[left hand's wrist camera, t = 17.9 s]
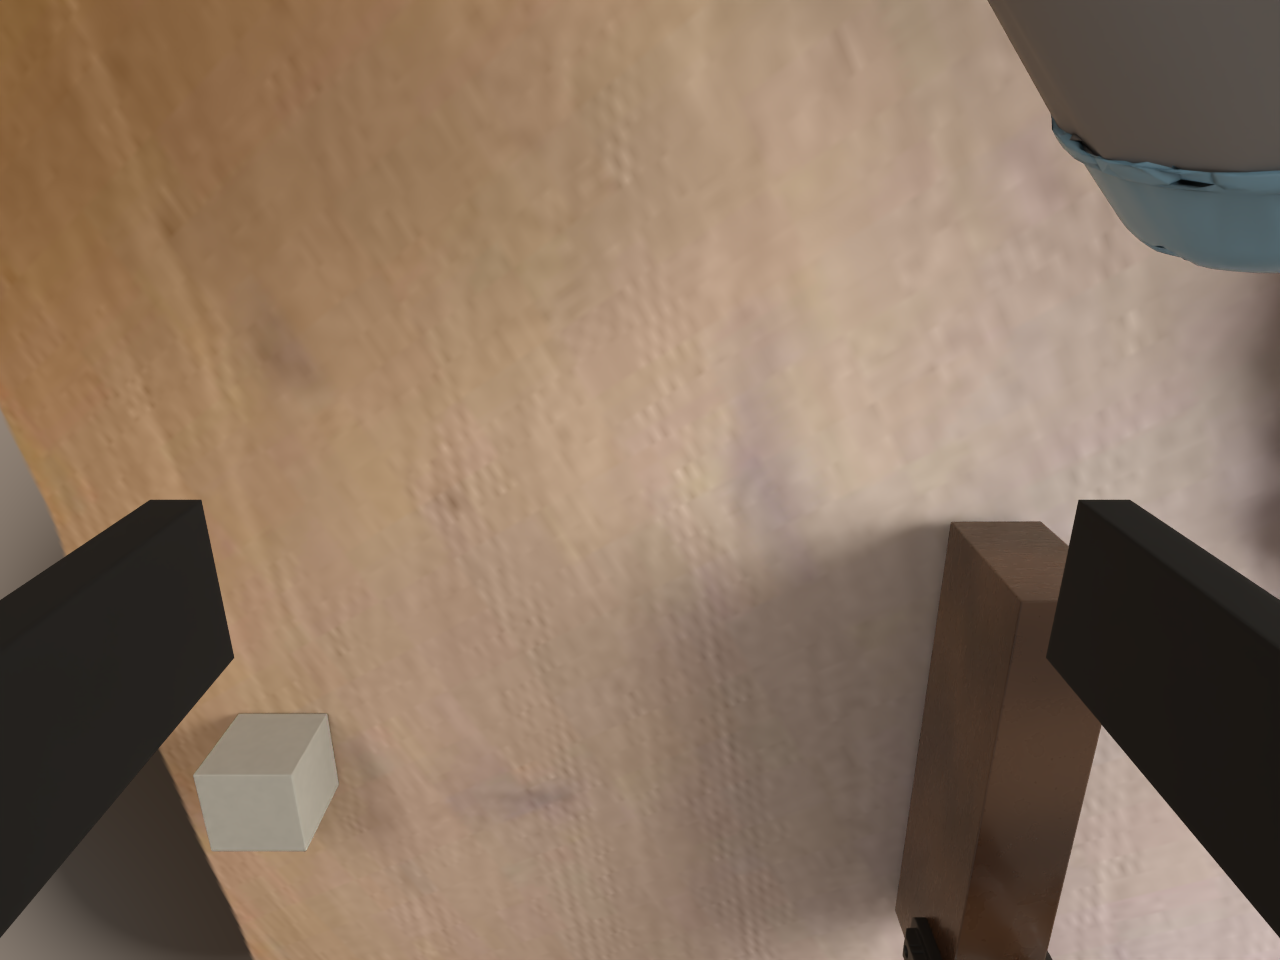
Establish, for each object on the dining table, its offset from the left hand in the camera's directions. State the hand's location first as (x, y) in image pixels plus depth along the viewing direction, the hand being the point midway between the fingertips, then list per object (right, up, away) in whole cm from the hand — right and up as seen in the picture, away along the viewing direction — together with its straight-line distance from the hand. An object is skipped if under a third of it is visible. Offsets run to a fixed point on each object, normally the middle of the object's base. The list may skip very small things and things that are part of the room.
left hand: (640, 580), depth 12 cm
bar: (+18, -13, +33) cm, 39 cm away
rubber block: (-20, -14, +34) cm, 42 cm away
